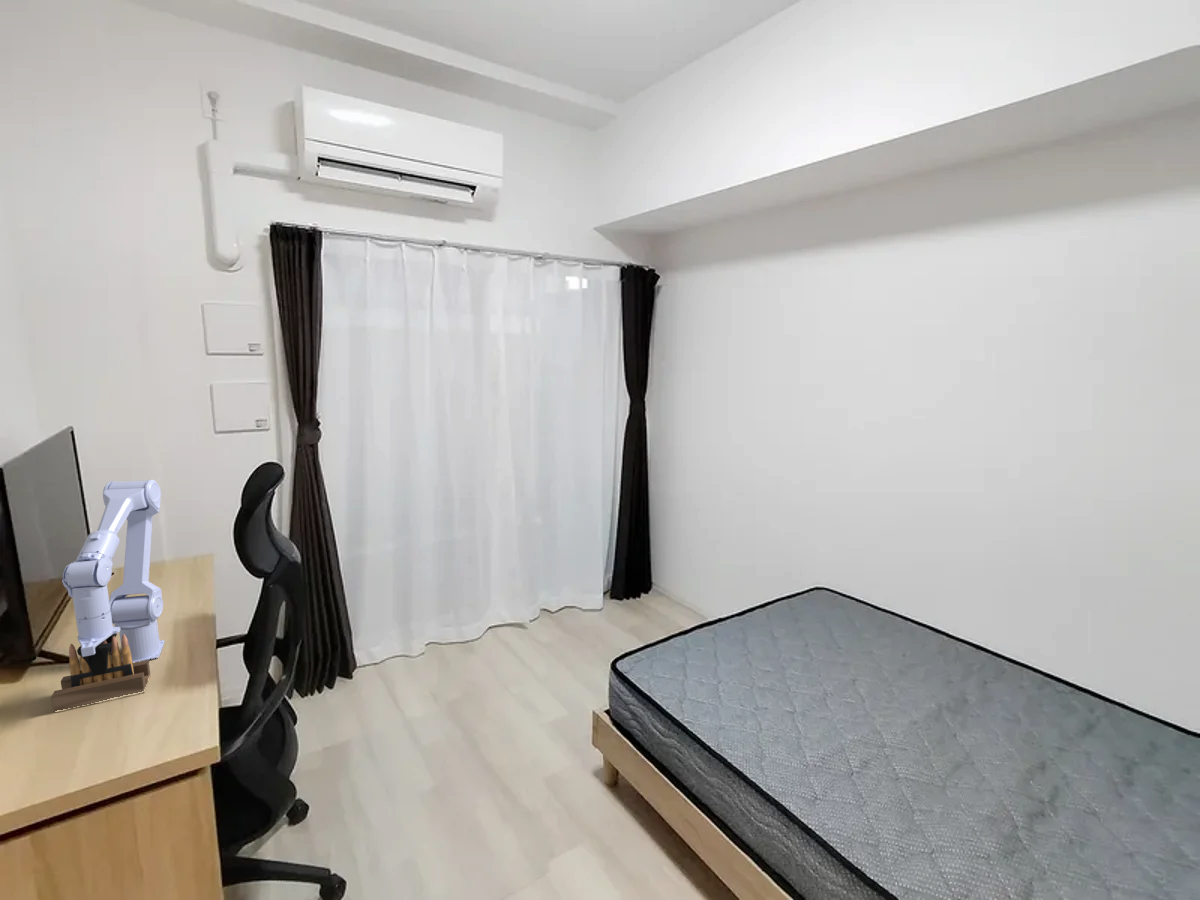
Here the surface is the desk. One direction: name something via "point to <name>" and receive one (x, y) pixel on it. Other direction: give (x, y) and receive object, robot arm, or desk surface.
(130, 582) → the robot arm
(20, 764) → the desk surface
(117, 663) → the ammunition clip
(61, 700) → the walnut rack
